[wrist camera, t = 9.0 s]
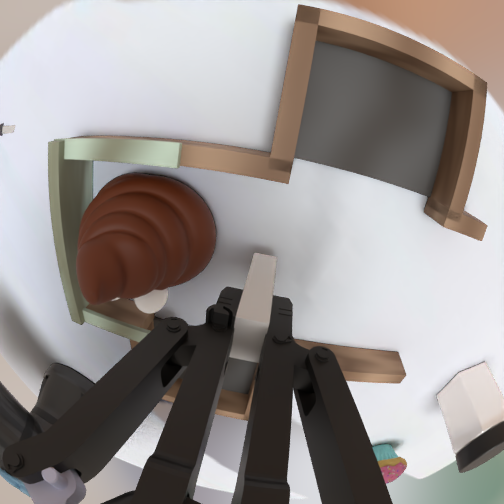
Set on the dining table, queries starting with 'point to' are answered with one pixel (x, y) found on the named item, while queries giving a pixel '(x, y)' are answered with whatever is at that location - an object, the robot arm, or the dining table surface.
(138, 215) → the poop emoji
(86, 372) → the dining table surface
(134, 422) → the robot arm
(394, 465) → the cupcake
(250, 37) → the dining table surface
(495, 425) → the jar
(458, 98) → the box
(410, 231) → the dining table surface
